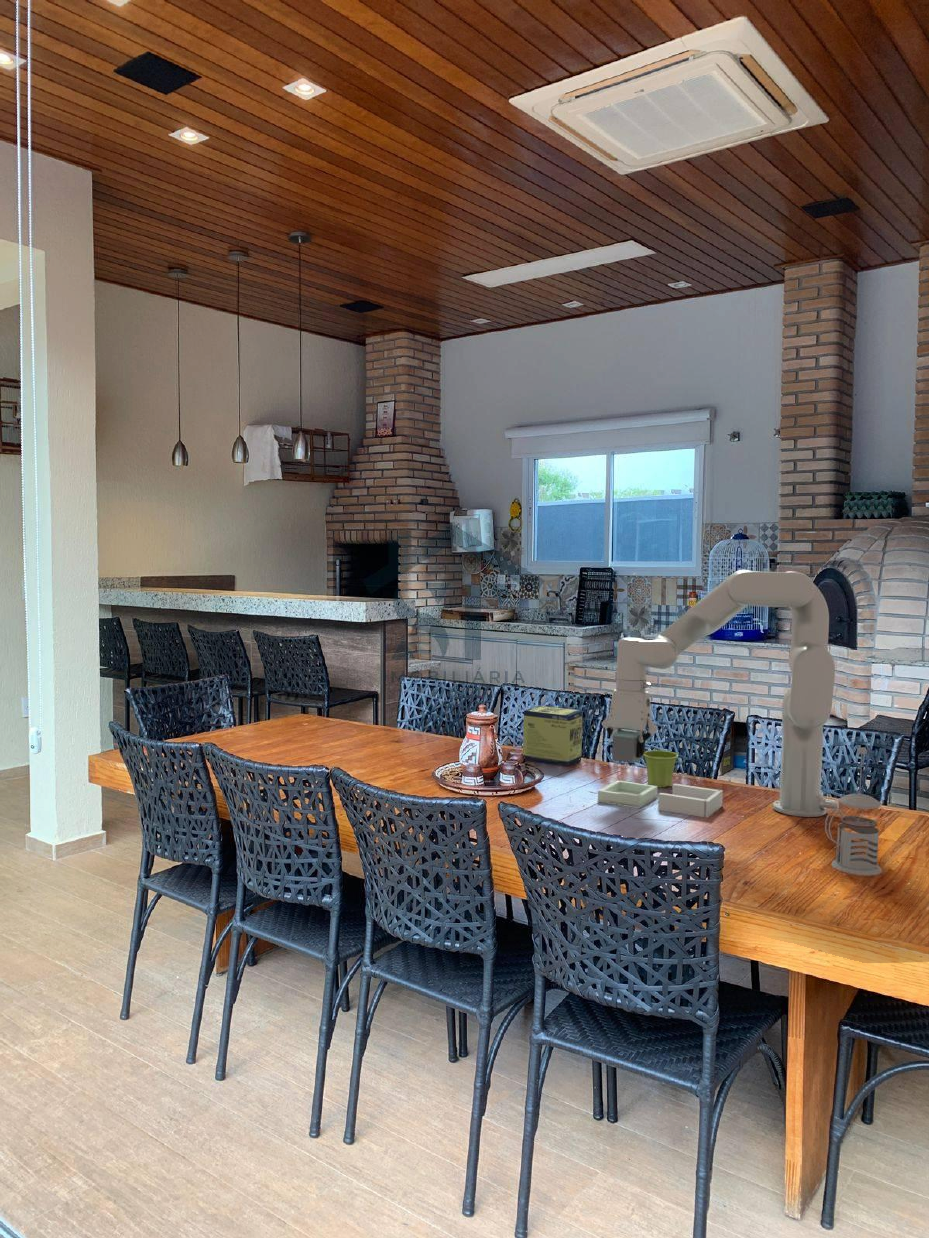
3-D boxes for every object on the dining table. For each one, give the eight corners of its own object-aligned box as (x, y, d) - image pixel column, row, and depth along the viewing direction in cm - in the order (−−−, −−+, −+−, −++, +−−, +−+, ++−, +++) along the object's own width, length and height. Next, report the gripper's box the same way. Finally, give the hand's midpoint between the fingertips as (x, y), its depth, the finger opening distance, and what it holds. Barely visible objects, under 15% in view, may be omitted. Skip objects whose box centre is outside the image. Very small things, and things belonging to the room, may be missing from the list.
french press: (892, 875, 188) (898, 752, 186) (836, 875, 187) (842, 752, 185) (867, 858, 197) (872, 742, 196) (814, 859, 197) (819, 742, 195)
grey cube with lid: (643, 757, 244) (644, 730, 243) (632, 763, 237) (633, 735, 236) (623, 754, 246) (624, 728, 246) (612, 760, 240) (613, 733, 239)
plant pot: (677, 790, 252) (678, 758, 251) (642, 788, 254) (643, 756, 253) (676, 781, 261) (677, 751, 261) (642, 779, 263) (643, 749, 262)
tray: (657, 796, 245) (657, 786, 245) (639, 808, 234) (639, 797, 234) (616, 790, 251) (617, 780, 251) (597, 801, 240) (598, 790, 239)
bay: (722, 805, 237) (722, 790, 237) (707, 817, 226) (708, 801, 226) (674, 798, 243) (674, 783, 243) (658, 809, 233) (658, 793, 232)
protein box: (568, 766, 278) (569, 715, 277) (521, 760, 286) (522, 709, 284) (582, 760, 287) (583, 710, 286) (536, 753, 295) (537, 705, 293)
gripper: (668, 687, 239) (665, 757, 240) (605, 681, 248) (602, 748, 249) (658, 690, 233) (655, 762, 234) (594, 684, 241) (591, 753, 243)
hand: (628, 754), depth 241 cm, fingers closed on grey cube with lid, 5 cm apart
